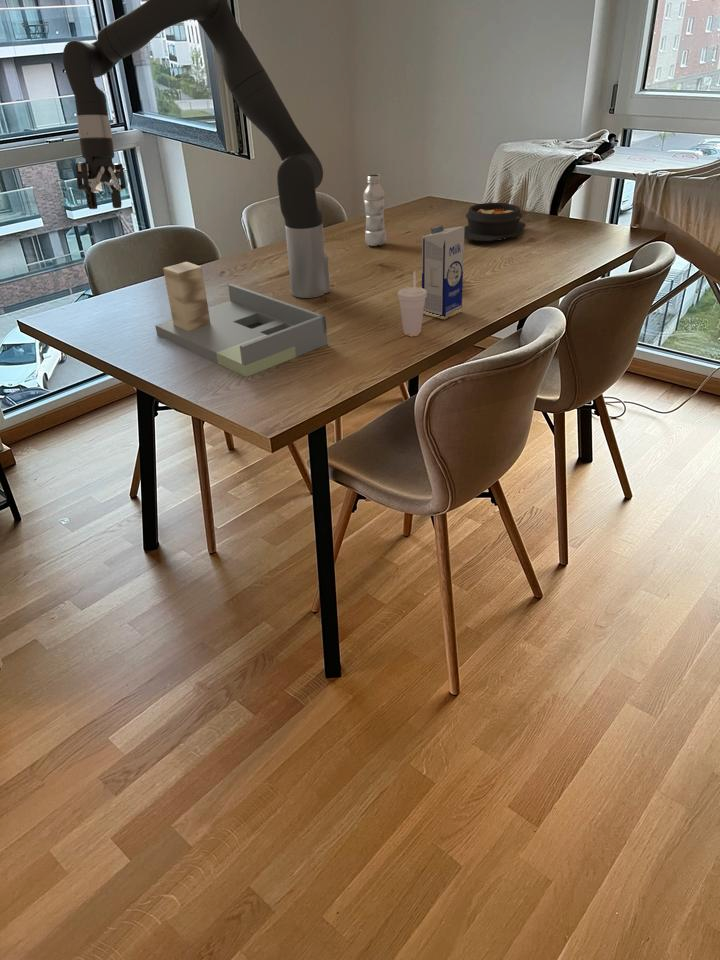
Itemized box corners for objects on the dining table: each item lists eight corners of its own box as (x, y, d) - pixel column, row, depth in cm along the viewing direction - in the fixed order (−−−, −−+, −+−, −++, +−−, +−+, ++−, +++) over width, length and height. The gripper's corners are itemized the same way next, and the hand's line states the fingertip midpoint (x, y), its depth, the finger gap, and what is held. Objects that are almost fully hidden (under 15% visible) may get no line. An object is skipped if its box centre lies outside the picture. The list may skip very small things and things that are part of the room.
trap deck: (234, 309, 186) (231, 283, 183) (327, 344, 165) (325, 316, 162) (157, 335, 174) (151, 308, 170) (246, 377, 153) (242, 346, 149)
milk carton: (444, 320, 174) (446, 232, 163) (421, 314, 178) (421, 227, 167) (462, 311, 179) (465, 225, 168) (439, 306, 183) (440, 221, 172)
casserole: (498, 250, 219) (500, 221, 215) (444, 241, 229) (445, 213, 225) (539, 231, 235) (541, 202, 231) (487, 223, 245) (488, 196, 241)
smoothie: (424, 340, 165) (425, 276, 157) (395, 338, 166) (394, 276, 159) (428, 329, 170) (428, 267, 163) (400, 328, 172) (399, 266, 164)
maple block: (195, 317, 175) (186, 261, 168) (210, 323, 172) (201, 266, 165) (173, 324, 172) (163, 268, 165) (188, 331, 168) (178, 273, 161)
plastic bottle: (390, 243, 229) (389, 174, 219) (379, 249, 225) (377, 178, 214) (372, 241, 232) (370, 172, 222) (360, 247, 228) (357, 177, 217)
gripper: (86, 134, 174) (96, 209, 180) (127, 137, 186) (136, 207, 192) (61, 136, 177) (72, 209, 183) (104, 139, 189) (113, 207, 195)
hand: (105, 208), depth 188 cm, fingers open, 8 cm apart
